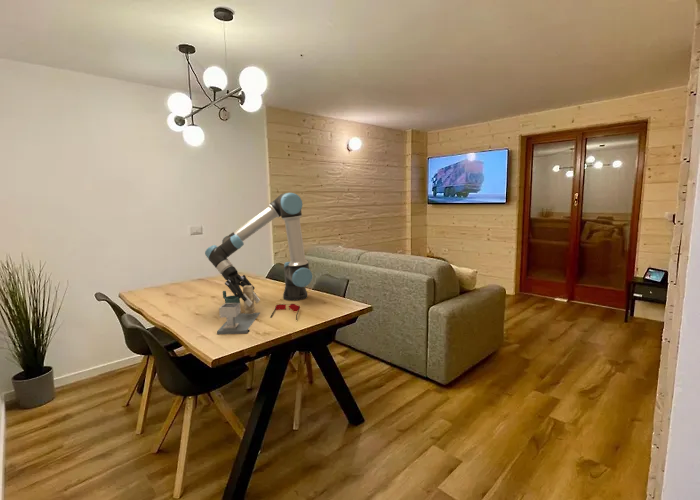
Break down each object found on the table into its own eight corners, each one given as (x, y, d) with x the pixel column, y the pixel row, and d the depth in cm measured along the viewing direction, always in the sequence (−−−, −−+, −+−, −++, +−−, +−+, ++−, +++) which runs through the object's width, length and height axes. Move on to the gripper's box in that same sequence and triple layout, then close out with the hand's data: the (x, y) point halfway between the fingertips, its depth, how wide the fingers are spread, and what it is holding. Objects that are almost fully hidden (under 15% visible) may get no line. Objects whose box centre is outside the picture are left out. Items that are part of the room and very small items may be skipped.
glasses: (300, 311, 197) (300, 302, 196) (297, 321, 181) (296, 312, 180) (275, 312, 197) (274, 303, 196) (269, 322, 181) (268, 313, 180)
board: (260, 315, 192) (260, 312, 192) (247, 333, 166) (247, 330, 166) (234, 316, 192) (234, 313, 191) (217, 334, 166) (216, 331, 166)
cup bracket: (241, 323, 175) (240, 302, 173) (237, 329, 167) (235, 307, 166) (226, 324, 175) (224, 303, 173) (220, 329, 167) (218, 307, 166)
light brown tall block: (254, 311, 188) (252, 285, 186) (252, 313, 184) (250, 287, 182) (247, 311, 188) (244, 285, 186) (244, 313, 184) (242, 287, 182)
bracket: (242, 306, 210) (241, 291, 209) (226, 308, 205) (224, 293, 204) (238, 302, 217) (237, 288, 216) (223, 305, 213) (221, 290, 212)
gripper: (236, 271, 198) (262, 302, 194) (210, 278, 181) (238, 313, 177) (242, 262, 195) (269, 294, 191) (217, 269, 179) (246, 303, 174)
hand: (254, 303), depth 184 cm, fingers closed on light brown tall block, 5 cm apart
